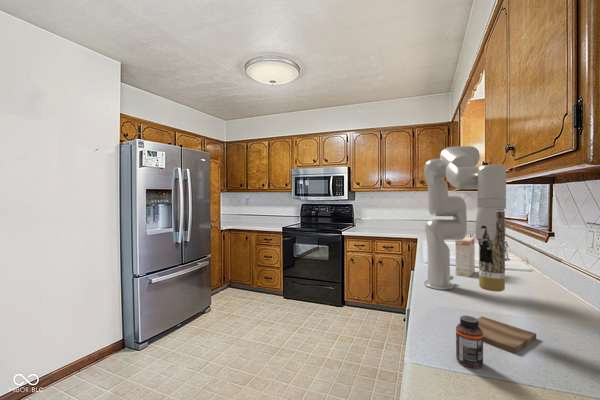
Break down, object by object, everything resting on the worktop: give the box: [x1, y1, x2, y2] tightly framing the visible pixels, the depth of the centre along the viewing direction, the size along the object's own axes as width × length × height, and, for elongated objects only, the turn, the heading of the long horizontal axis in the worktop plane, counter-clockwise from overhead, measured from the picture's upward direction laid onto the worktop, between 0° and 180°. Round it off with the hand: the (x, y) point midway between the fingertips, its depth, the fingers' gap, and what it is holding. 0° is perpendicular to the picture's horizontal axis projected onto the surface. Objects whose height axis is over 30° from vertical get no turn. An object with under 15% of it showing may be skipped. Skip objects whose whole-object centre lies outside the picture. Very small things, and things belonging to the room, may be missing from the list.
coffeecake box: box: [454, 236, 476, 278], centre depth 160 cm, size 15×7×20 cm, turn 139°
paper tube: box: [478, 209, 506, 292], centre depth 91 cm, size 7×7×25 cm
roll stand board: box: [477, 316, 537, 354], centre depth 88 cm, size 15×15×2 cm
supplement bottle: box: [455, 315, 484, 369], centre depth 73 cm, size 6×6×11 cm
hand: (491, 260), depth 91 cm, fingers closed on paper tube, 6 cm apart
